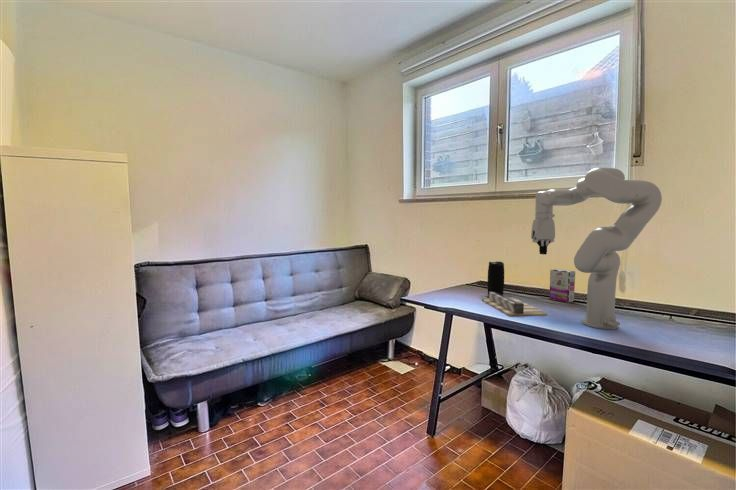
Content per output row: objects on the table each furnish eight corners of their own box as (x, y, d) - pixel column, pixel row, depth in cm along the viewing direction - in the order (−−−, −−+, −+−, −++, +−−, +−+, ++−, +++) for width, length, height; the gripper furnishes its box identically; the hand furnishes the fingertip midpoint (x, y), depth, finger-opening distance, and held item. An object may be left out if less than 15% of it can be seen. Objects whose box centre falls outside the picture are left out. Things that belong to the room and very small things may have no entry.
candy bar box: (574, 302, 179) (576, 271, 177) (568, 303, 177) (569, 271, 175) (555, 297, 189) (556, 268, 187) (548, 298, 187) (550, 268, 185)
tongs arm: (520, 311, 157) (520, 303, 157) (516, 311, 157) (517, 303, 157) (494, 298, 182) (494, 291, 182) (491, 298, 182) (491, 291, 182)
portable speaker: (497, 294, 197) (498, 260, 195) (507, 298, 187) (508, 263, 186) (483, 295, 195) (484, 261, 193) (492, 299, 186) (493, 263, 184)
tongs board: (547, 315, 155) (547, 303, 155) (509, 316, 154) (509, 304, 153) (513, 299, 185) (514, 289, 184) (481, 300, 183) (481, 290, 183)
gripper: (553, 216, 172) (552, 253, 173) (525, 217, 170) (524, 253, 171) (563, 216, 164) (562, 254, 165) (533, 216, 163) (533, 255, 164)
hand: (543, 254), depth 168 cm, fingers closed
